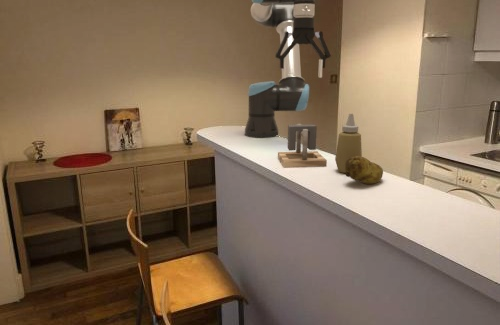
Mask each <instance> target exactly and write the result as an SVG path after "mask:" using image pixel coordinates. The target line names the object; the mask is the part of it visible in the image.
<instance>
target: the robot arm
mask: <svg viewBox="0 0 500 325" xmlns="http://www.w3.org/2000/svg"><path fill="white" fill-rule="evenodd" d="M251 2H252V5H250V6H251V7H250V16H251V18H252V20H253V21H254V23H256V24H257V25H259V26H263V27H264V28H265V27H266V28H275V30H276V32H277V34H279V41H280V43H279V44H280V45H279V47H278V48H277V51H276V53H275V55H274V58H276V59H278V60H279V68H280V69H281V78H280V79H279V81H278V84H276V82H275V81H273V80H270V81H269V80H268V81H261V82H255V83H252V84H250V85H248V86H249V87H248V92H247V93H248V94H247V97H248V119H247V120H246V121H247V122H246V125H245V128H244V135H245V136H246V137H252V138H273V137H276V136H278V135H279V127H278V124H277V122H276V119H275V118H276V117H275V114H276V112H297V111H298V112H299V111H305V110H306V109H307V107H308V102H309V95H310V85H309V84H308V83H306V81H305V78H304V77H302V70H301V67H302V66H301V56H300V55H301V54H300V53H301V52H300V45H310V46H311V48H312V49H313V50H314V51H315V52H316V53H317V56H318V57H319V59H318V71H317V72H318V73H317V74H318V78H320V79H321V78H323V69H325V68H326V60H327V59H328V58H331V53H330V51H329V48H328V46H327V44H326V41H325V39H324V34H323V31H316V32H315V18H314V17H315V7H316V6H315V4H316V3H315V2H316V0H251ZM315 37H316V38H317V40H318V41H319V44H320V47H321V48H322V50H321V49H320V48H319V46H318V45H317V43H316V42H315V40H314V38H315Z"/></svg>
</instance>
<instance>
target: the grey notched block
mask: <svg viewBox="0 0 500 325" xmlns="http://www.w3.org/2000/svg"><path fill="white" fill-rule="evenodd" d="M303 129H308V144H307V150H308V151H315V150H316V149H317V125H315V124H302V125H297V124H288V125H287V150H288V152H291V151H296V138H297V131H303ZM316 151H317V150H316Z"/></svg>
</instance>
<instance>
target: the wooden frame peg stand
mask: <svg viewBox="0 0 500 325" xmlns="http://www.w3.org/2000/svg"><path fill="white" fill-rule="evenodd" d="M296 125H303V124H301V123H297V124H296ZM307 144H308V129H303V131H296V150H295V151H278V152H277V158H278V160H279V162H280V163H281V165H282V167H283V169H284V168H309V167H311V168H313V167H314V168H315V167H327V164H328V163H327V161H328V160H327V159H326V158H325V157H324V156H323V155H322V154H321V153H320V152H318V151H317V150H316V151H315V150H308V148H307Z"/></svg>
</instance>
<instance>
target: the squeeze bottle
mask: <svg viewBox="0 0 500 325" xmlns="http://www.w3.org/2000/svg"><path fill="white" fill-rule="evenodd" d="M354 116H355V115H354V114H353V113H349V114H348V116H347V120H346V124H344V125H342V131H341V132H340V133H339V134H338V139H337V145H336V150H335V151H336V152H335V157H334V158H335V159H334V161H335V164H336V169H337V171H338V172H339V173H343V174H346V171H345V163H346V161H347V160H348V159H349V158H351V157H354V156H360V157H363V153H362V152H363V151H362V134H361V133H359V125H357V124H356V123H355V117H354Z"/></svg>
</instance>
